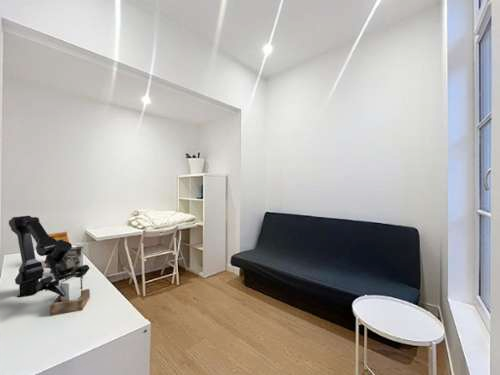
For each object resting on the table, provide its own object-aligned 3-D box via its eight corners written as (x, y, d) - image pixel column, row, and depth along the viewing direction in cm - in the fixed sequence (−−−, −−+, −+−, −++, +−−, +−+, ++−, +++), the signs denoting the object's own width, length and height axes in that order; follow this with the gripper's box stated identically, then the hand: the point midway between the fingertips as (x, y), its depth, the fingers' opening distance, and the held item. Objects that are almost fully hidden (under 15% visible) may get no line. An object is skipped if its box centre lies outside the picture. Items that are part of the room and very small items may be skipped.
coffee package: (72, 263, 152) (72, 231, 152) (48, 269, 142) (48, 235, 142) (68, 260, 158) (67, 230, 158) (44, 265, 148) (44, 233, 148)
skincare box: (73, 302, 102) (72, 276, 102) (81, 303, 101) (81, 277, 101) (60, 310, 96) (60, 282, 95) (69, 310, 95) (69, 283, 95)
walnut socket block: (50, 316, 91) (49, 305, 91) (61, 302, 101) (60, 293, 101) (82, 310, 96) (82, 299, 95) (89, 298, 106) (89, 288, 106)
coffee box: (62, 278, 129) (61, 250, 128) (65, 274, 134) (64, 247, 134) (81, 275, 133) (80, 248, 133) (83, 271, 139) (83, 245, 138)
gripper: (39, 260, 91) (55, 291, 87) (86, 248, 108) (102, 273, 104) (28, 276, 94) (44, 307, 90) (76, 261, 111) (91, 287, 107)
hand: (73, 292), depth 98 cm, fingers closed on skincare box, 7 cm apart
